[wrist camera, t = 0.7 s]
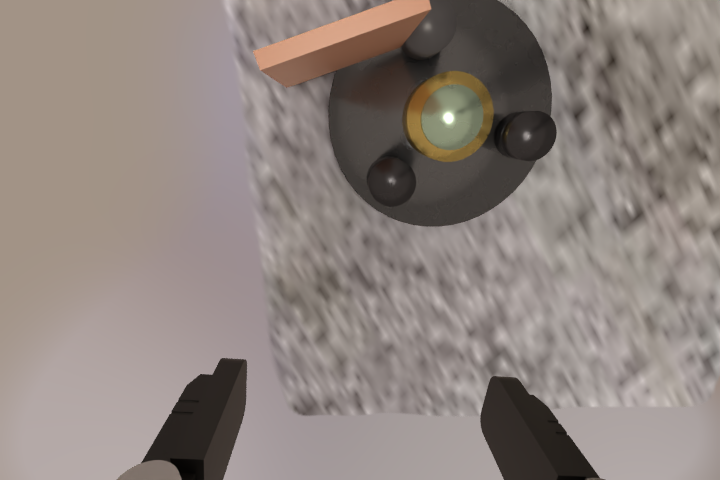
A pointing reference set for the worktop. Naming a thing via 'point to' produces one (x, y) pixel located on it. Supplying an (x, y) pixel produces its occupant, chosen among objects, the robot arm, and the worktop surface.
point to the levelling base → (391, 85)
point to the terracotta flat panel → (361, 40)
